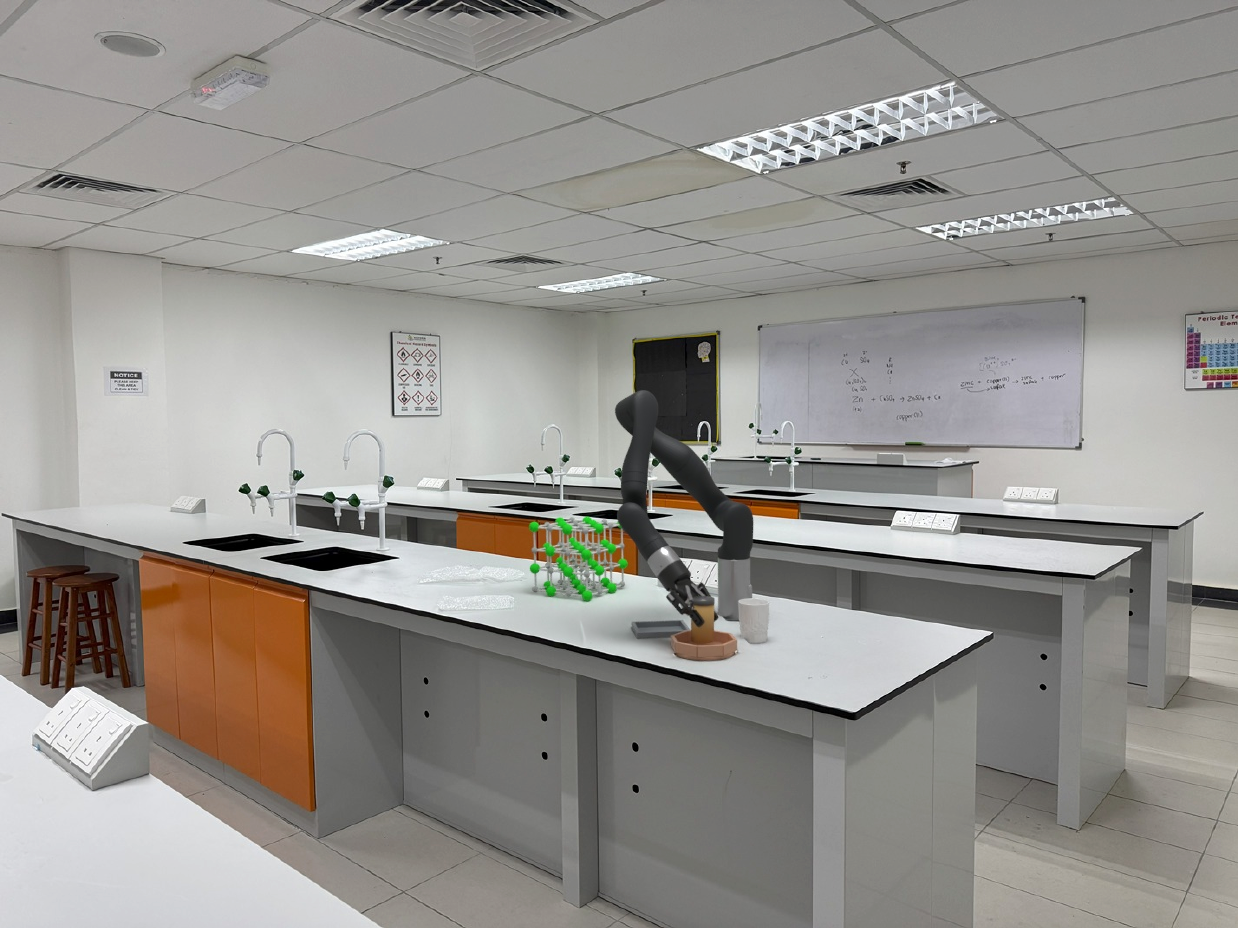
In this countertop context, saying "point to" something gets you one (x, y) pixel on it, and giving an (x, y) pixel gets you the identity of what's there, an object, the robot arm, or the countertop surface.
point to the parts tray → (658, 628)
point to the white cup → (754, 619)
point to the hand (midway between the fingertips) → (708, 622)
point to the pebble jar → (707, 613)
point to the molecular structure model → (584, 553)
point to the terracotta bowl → (704, 646)
